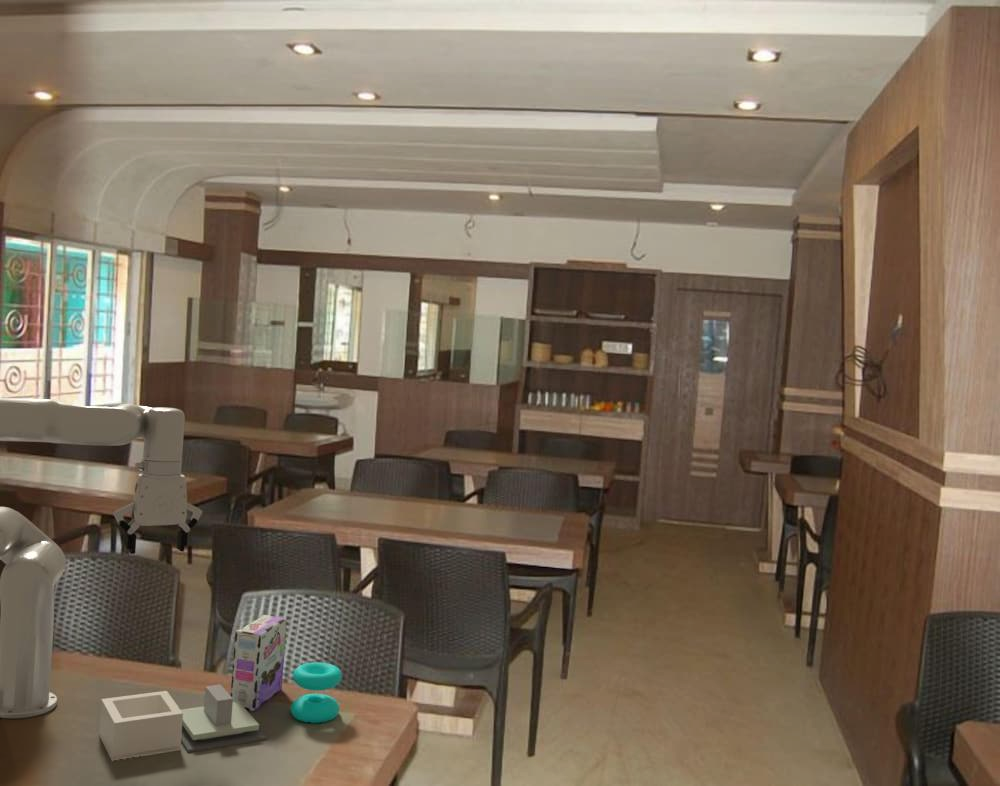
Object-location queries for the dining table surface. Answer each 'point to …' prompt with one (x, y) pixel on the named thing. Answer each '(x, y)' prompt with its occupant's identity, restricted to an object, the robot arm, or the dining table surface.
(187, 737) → the rubber mat
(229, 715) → the lid
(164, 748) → the storage box
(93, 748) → the dining table surface
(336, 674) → the donuts
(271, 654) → the candy box
